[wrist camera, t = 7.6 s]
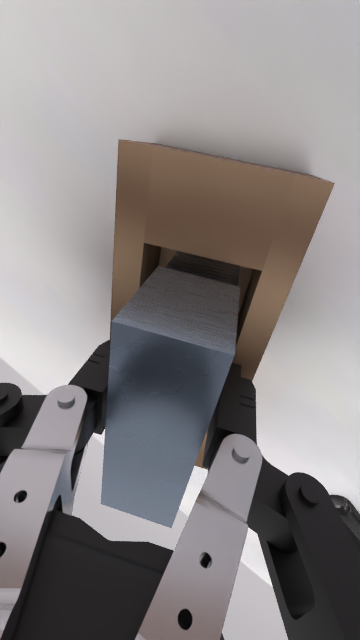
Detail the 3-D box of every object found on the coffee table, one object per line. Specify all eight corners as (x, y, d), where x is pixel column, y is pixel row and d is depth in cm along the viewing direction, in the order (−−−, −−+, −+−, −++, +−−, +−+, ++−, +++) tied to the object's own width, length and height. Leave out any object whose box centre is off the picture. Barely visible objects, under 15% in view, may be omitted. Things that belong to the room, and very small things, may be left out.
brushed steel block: (181, 238, 14) (112, 320, 7) (243, 253, 13) (234, 355, 6) (156, 374, 18) (101, 503, 12) (201, 388, 18) (171, 528, 11)
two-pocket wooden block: (154, 143, 13) (118, 139, 9) (311, 175, 12) (334, 183, 9) (128, 392, 21) (105, 437, 18) (220, 419, 20) (214, 471, 17)
